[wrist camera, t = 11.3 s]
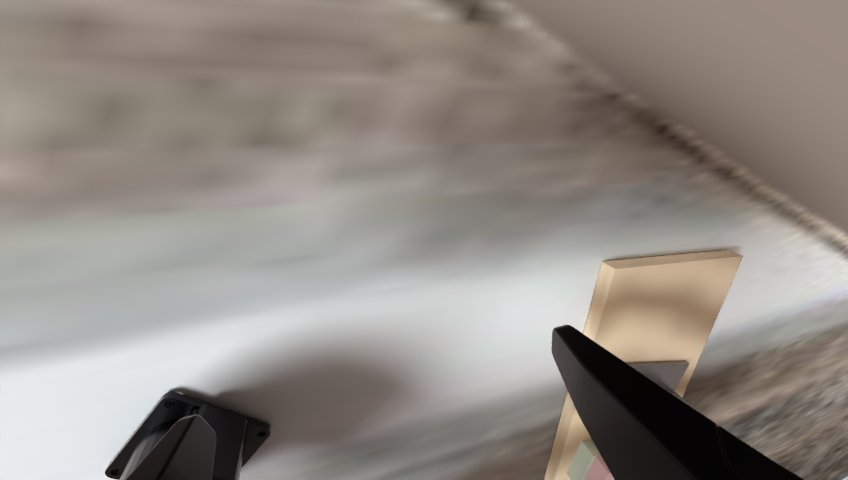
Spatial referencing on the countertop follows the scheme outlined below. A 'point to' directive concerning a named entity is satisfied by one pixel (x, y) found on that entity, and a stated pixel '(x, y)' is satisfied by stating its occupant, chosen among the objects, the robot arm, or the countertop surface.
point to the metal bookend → (663, 373)
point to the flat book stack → (588, 464)
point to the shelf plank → (649, 322)
